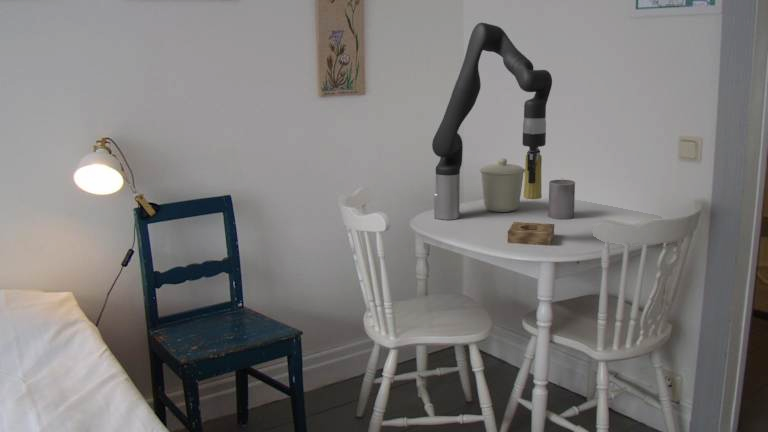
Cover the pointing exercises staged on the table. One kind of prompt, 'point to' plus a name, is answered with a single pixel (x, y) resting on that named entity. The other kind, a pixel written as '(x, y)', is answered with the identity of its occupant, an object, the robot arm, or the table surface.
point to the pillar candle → (561, 199)
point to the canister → (502, 186)
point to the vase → (529, 188)
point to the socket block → (531, 233)
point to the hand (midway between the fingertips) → (532, 181)
